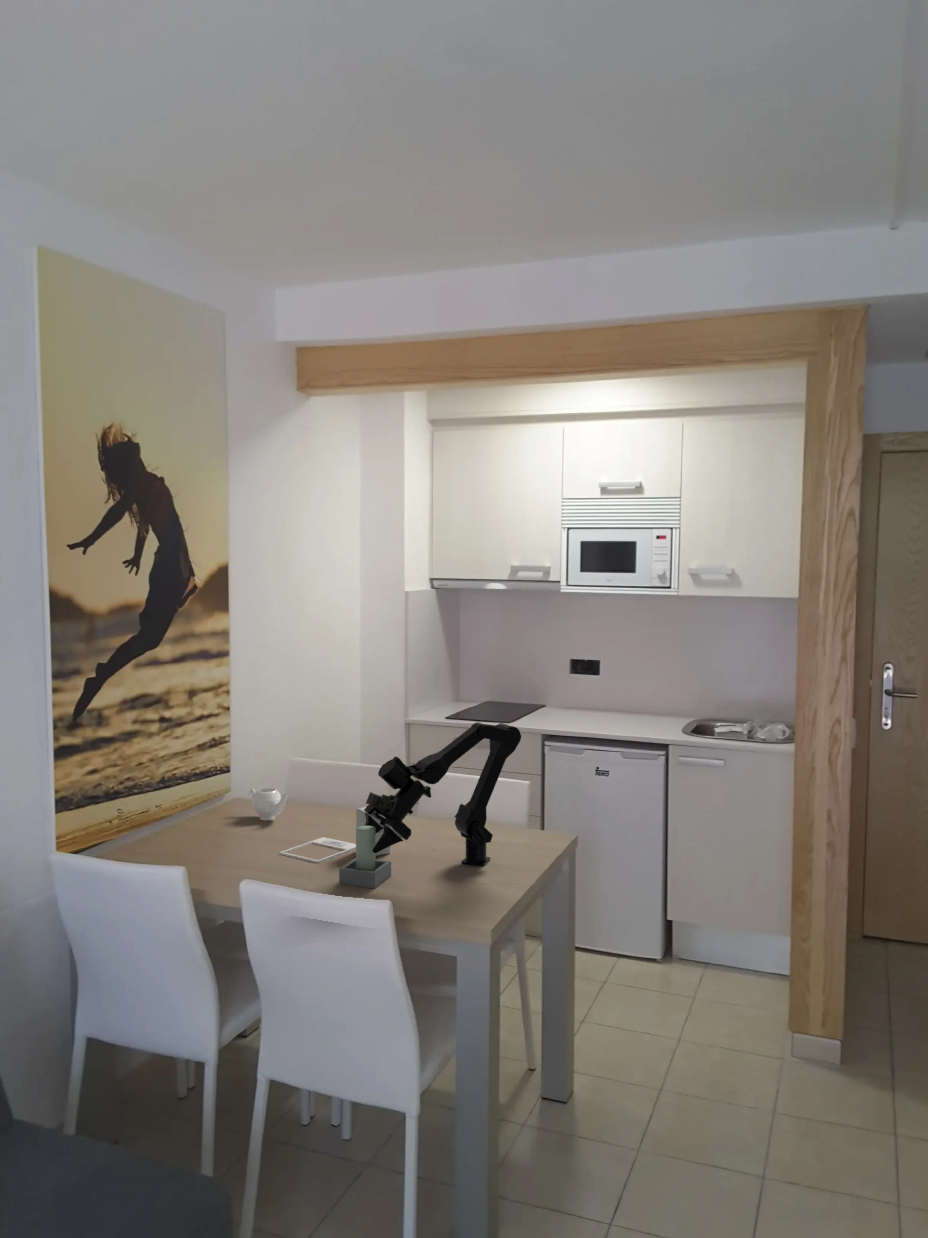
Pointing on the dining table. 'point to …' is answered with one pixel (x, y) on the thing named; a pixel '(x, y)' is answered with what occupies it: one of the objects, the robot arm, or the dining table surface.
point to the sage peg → (365, 848)
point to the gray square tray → (365, 874)
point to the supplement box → (361, 822)
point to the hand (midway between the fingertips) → (366, 847)
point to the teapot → (267, 802)
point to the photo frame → (324, 842)
